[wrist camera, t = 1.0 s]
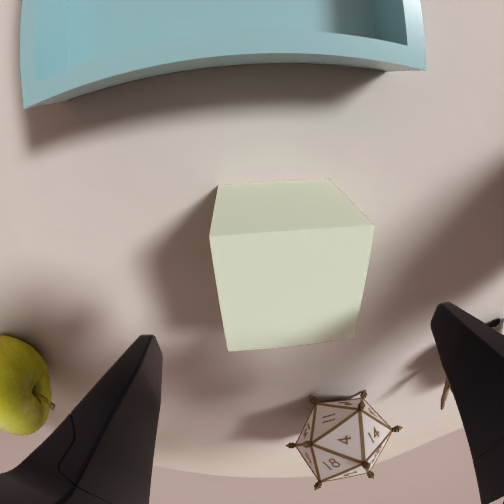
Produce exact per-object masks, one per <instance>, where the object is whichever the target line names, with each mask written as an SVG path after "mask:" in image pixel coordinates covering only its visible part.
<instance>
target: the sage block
mask: <svg viewBox="0 0 504 504" xmlns="http://www.w3.org/2000/svg"><path fill="white" fill-rule="evenodd" d="M374 227H375V225H374V224H373V223H372V222H371V221H370V220H369V218H368V217H367V216H366V215H365V214H364V213H363V212H362V211H361V210H360V209H359V208H358V207H357V206H356V204H355V203H354V202H353V201H352V200H351V199H350V198H349V197H348V196H347V195H346V194H345V193H344V192H343V191H342V190H341V189H340V188H339V187H338V186H337V185H336V184H335V183H334V182H333V181H332V180H331V179H330V178H326V179H297V180H277V181H261V182H246V183H234V184H222V185H218V190H217V195H216V200H215V206H214V211H213V217H212V223H211V228H210V234H209V240H210V246H211V253H212V260H213V266H214V273H215V279H216V285H217V292H218V298H219V304H220V310H221V315H222V321H223V327H224V333H225V338H226V344H227V349H228V351H244V350H258V349H270V348H280V347H290V346H299V345H308V344H316V343H324V342H331V341H338V340H345V339H351V338H353V335H354V331H355V327H356V323H357V319H358V314H359V310H360V305H361V301H362V296H363V291H364V286H365V281H366V276H367V270H368V265H369V259H370V253H371V247H372V240H373V234H374Z"/></svg>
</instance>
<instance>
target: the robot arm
mask: <svg viewBox="0 0 504 504" xmlns="http://www.w3.org/2000/svg"><path fill="white" fill-rule="evenodd" d="M431 330H432V333H433V336H434V339H435V342H436V345H437V349H438V352H439V355H440V359H441V362H442V365H443V368H444V371H445V373H446V376H447V379H448V381H449V384H450V387H451V389H452V392H453V395H454V398H455V401H456V404H457V407H458V410H459V413H460V416H461V419H462V422H463V426H464V429H465V432H466V436H467V439H468V443H469V447H470V451H471V455H472V459H473V464H474V468H475V472H476V477H477V482H478V487H479V493H480V499H481V504H489V503H491V502H493V501H495V500H497V499H499V498H501V497H503V496H504V335H503V334H501V333H499V332H498V331H496V330H495V329H493V328H491V327H490V326H488V325H487V324H485V323H483V322H482V321H480V320H479V319H477V318H475V317H474V316H472V315H470V314H469V313H467V312H465V311H464V310H462V309H460V308H459V307H457V306H455V305H454V304H452V303H450V302H444V303H440V304H439V305H438V306H437V308H436V310H435V313H434V315H433V318H432V320H431ZM162 362H163V357H162V352H161V350H160V347H159V345H158V342H157V340H156V338H155V336H154V335H140V336H139V337H138V338H137V339H136V340H135V341H134V343H133V344H132V345H131V346H130V347H129V348H128V349H127V350H126V351H125V352H124V353H123V355H122V356H121V357H120V358H119V359H118V360H117V361H116V362H115V363H114V364H113V366H112V367H111V368H110V369H109V370H108V371H107V372H106V373H105V374H104V376H103V377H102V378H101V379H100V380H99V381H98V382H97V383H96V384H95V386H94V387H93V388H92V389H91V390H90V391H89V392H88V394H87V395H86V396H85V397H84V398H83V399H82V400H81V401H80V403H79V404H78V405H77V406H76V407H75V408H74V409H73V411H72V412H71V414H69V415H68V416H67V417H66V418H65V420H64V421H63V422H62V423H61V424H60V425H59V426H58V427H57V428H56V430H55V431H54V432H53V433H52V434H51V435H50V436H49V437H48V438H47V439H46V440H45V441H44V442H43V443H42V444H41V445H40V446H39V447H37V448H36V449H35V450H34V451H33V452H32V453H31V454H30V455H29V456H28V457H27V458H26V459H25V460H24V461H22V463H21V464H19V465H18V466H17V467H15V468H14V469H12V470H10V471H8V472H5V473H1V474H0V504H149V496H150V485H151V475H152V466H153V457H154V448H155V441H156V433H157V426H158V419H159V412H160V404H161V382H162ZM503 504H504V502H503Z"/></svg>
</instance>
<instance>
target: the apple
mask: <svg viewBox="0 0 504 504" xmlns="http://www.w3.org/2000/svg"><path fill="white" fill-rule="evenodd" d="M50 408H51V409H52V410H53V409H54V408H55V404H54V403H52V402H51V388H50V378H49V372H48V368H47V366H46V363H45V361H44V360H43V358H42V357H41V355H40V354H39V353H38V352H37V351H36V350H35V349H34V348H33V347H32V346H30V345H29V344H27V343H25V342H23V341H21V340H19V339H17V338H14V337H11V336H5V335H0V429H2V430H4V431H6V432H8V433H11V434H14V435H29V434H32V433H34V432H36V431H37V430H38V429H40V428H41V427H42V426H43V424H44V423H45V421H46V419H47V416H48V412H49V410H50Z"/></svg>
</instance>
